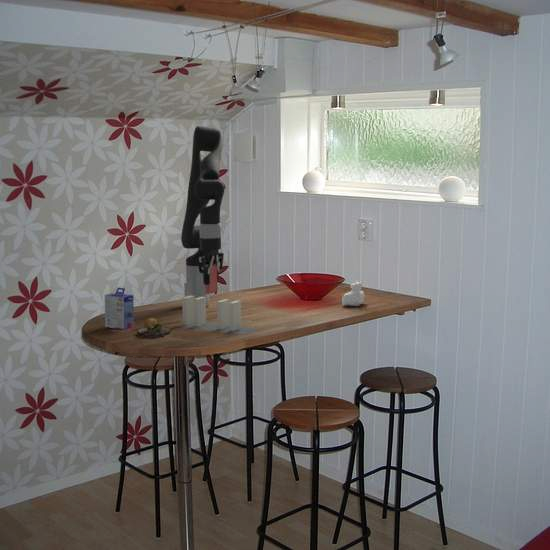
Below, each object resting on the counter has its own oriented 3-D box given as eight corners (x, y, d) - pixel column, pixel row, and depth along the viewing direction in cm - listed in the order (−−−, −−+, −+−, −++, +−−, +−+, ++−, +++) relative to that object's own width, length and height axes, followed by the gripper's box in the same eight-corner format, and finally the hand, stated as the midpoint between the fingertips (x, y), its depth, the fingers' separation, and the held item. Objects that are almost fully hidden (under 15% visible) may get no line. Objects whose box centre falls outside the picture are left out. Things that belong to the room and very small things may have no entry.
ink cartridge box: (135, 327, 276) (134, 288, 274) (124, 330, 272) (123, 291, 269) (115, 324, 281) (113, 286, 279) (104, 327, 277) (103, 288, 274)
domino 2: (194, 326, 276) (193, 299, 274) (202, 323, 280) (201, 296, 279) (198, 326, 275) (197, 299, 273) (206, 323, 280) (205, 297, 278)
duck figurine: (344, 312, 312) (356, 293, 305) (334, 299, 316) (346, 280, 309) (364, 308, 319) (377, 290, 312) (354, 295, 323) (366, 277, 316)
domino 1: (182, 324, 278) (182, 297, 277) (190, 321, 283) (190, 295, 281) (186, 325, 277) (186, 298, 276) (195, 322, 282) (194, 295, 280)
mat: (175, 327, 276) (175, 325, 276) (193, 321, 286) (193, 320, 286) (244, 336, 263) (244, 334, 263) (260, 329, 272) (260, 328, 272)
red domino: (205, 293, 271) (204, 265, 270) (213, 291, 276) (212, 263, 274) (209, 293, 271) (209, 266, 269) (217, 291, 275) (217, 264, 274)
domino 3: (217, 329, 271) (217, 301, 270) (225, 326, 276) (224, 299, 274) (221, 329, 270) (221, 302, 269) (229, 326, 275) (229, 299, 273)
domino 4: (229, 330, 269) (229, 302, 267) (237, 327, 273) (236, 300, 272) (233, 331, 268) (233, 303, 266) (241, 328, 272) (241, 300, 271)
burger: (174, 337, 263) (174, 316, 262) (140, 340, 259) (139, 318, 258) (167, 329, 274) (166, 309, 273) (134, 332, 270) (133, 311, 269)
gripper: (212, 233, 278) (213, 279, 281) (190, 237, 266) (191, 285, 268) (230, 234, 275) (230, 281, 277) (208, 238, 262) (208, 287, 265)
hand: (211, 283), depth 273 cm, fingers closed on red domino, 5 cm apart
